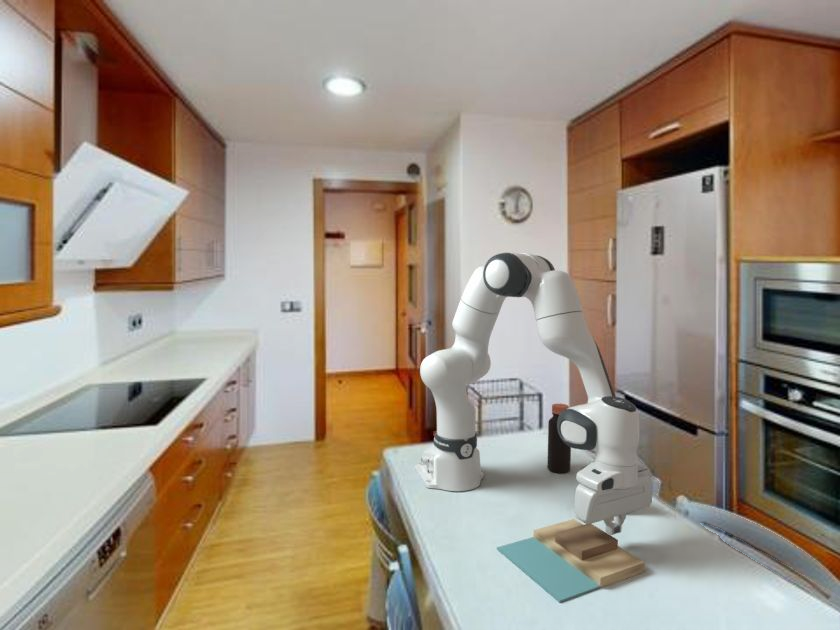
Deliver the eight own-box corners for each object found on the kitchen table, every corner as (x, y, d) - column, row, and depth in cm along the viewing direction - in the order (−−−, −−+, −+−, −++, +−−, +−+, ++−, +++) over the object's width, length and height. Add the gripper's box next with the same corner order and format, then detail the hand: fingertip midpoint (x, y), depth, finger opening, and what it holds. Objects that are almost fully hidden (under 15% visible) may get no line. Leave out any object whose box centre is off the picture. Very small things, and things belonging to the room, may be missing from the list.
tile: (554, 541, 110) (555, 532, 110) (589, 531, 114) (589, 523, 114) (581, 560, 103) (582, 551, 103) (617, 548, 107) (617, 539, 107)
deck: (533, 538, 115) (533, 530, 115) (573, 527, 120) (574, 519, 120) (600, 587, 97) (600, 577, 97) (644, 571, 102) (644, 562, 102)
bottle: (573, 468, 156) (574, 404, 155) (566, 475, 151) (568, 409, 149) (551, 463, 160) (553, 401, 158) (544, 470, 154) (545, 406, 153)
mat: (496, 549, 111) (496, 547, 111) (533, 538, 115) (533, 537, 115) (559, 602, 93) (559, 600, 93) (600, 587, 97) (600, 585, 97)
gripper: (637, 459, 118) (635, 516, 120) (570, 474, 109) (568, 536, 111) (660, 469, 113) (658, 528, 114) (592, 486, 104) (590, 550, 105)
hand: (613, 532), depth 112 cm, fingers closed
